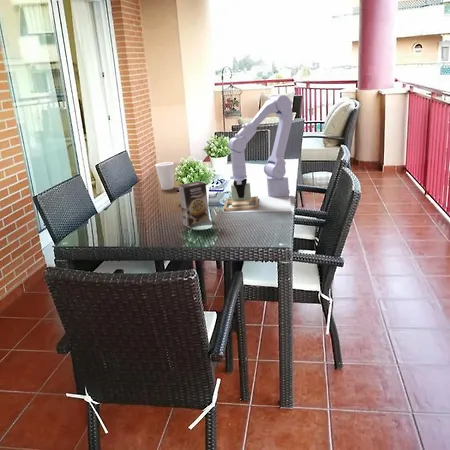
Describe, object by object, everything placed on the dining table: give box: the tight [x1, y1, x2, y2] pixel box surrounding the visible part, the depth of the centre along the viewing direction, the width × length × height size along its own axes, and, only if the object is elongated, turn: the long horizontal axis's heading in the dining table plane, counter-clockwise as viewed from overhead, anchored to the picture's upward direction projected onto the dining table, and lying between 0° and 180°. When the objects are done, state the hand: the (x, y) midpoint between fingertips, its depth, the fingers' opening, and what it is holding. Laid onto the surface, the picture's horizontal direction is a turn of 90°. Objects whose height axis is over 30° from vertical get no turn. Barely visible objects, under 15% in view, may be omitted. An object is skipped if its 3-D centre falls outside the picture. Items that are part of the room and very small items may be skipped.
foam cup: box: [155, 161, 175, 191], centre depth 250 cm, size 10×9×13 cm
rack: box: [222, 195, 259, 212], centre depth 203 cm, size 14×16×2 cm
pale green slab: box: [230, 182, 252, 201], centre depth 207 cm, size 8×2×9 cm, turn 86°
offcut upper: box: [231, 201, 250, 207], centre depth 198 cm, size 7×4×2 cm, turn 91°
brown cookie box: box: [178, 181, 210, 229], centre depth 186 cm, size 9×6×16 cm
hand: (241, 196), depth 207 cm, fingers closed on pale green slab, 2 cm apart
